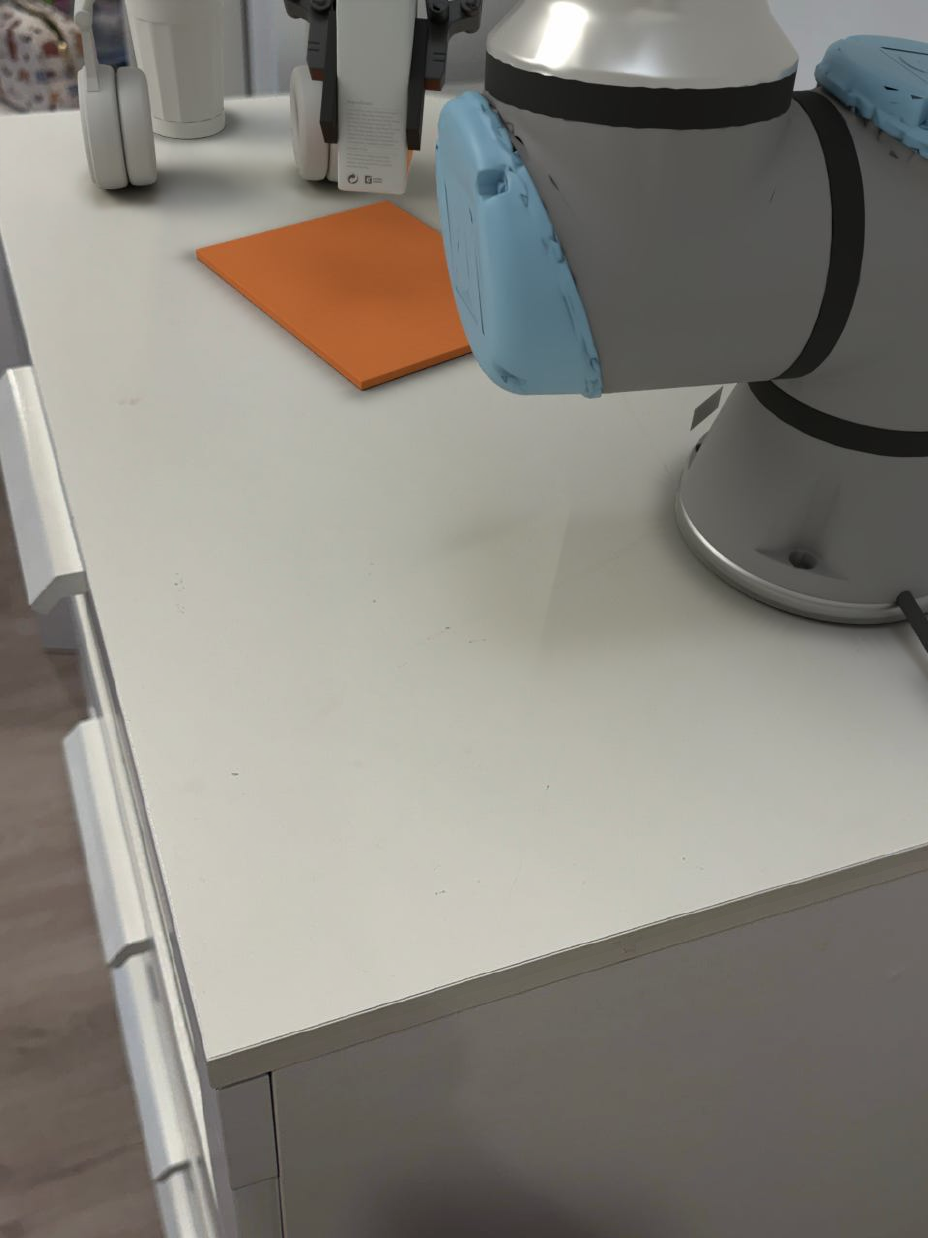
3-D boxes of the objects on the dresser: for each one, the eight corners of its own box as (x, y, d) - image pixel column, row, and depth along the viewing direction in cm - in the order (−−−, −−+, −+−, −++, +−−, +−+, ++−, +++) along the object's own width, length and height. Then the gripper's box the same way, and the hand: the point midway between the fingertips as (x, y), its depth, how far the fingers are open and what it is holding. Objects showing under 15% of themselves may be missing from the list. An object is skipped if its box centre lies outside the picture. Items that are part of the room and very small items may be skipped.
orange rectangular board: (563, 320, 77) (564, 311, 77) (361, 390, 69) (361, 381, 69) (387, 207, 88) (387, 199, 88) (196, 257, 81) (195, 248, 80)
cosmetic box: (407, 197, 72) (412, -19, 64) (337, 192, 72) (333, -26, 63) (415, 158, 76) (420, -49, 68) (349, 153, 76) (347, -54, 68)
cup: (226, 145, 95) (214, -18, 87) (127, 138, 95) (105, -26, 87) (242, 109, 101) (232, -47, 93) (149, 103, 101) (130, -55, 92)
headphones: (92, 209, 85) (44, -97, 72) (93, 162, 91) (48, -129, 78) (366, 200, 89) (368, -92, 76) (350, 155, 95) (349, -122, 82)
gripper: (545, -195, 73) (515, 175, 72) (267, -219, 73) (234, 152, 72) (555, -293, 65) (522, 119, 65) (245, -319, 65) (208, 93, 65)
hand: (370, 135), depth 68 cm, fingers closed on cosmetic box, 4 cm apart
